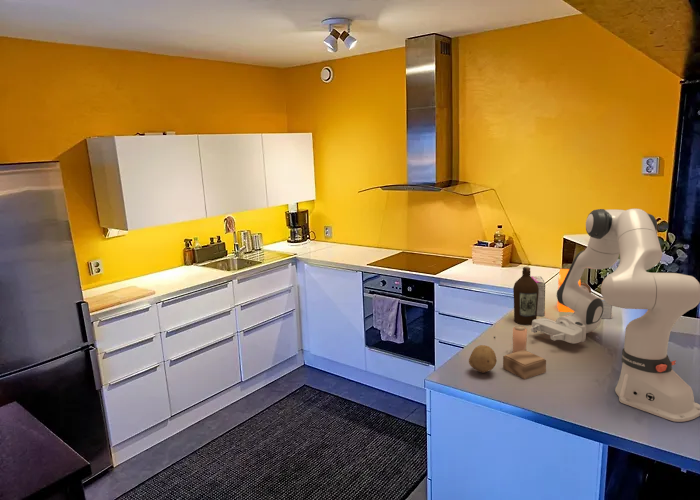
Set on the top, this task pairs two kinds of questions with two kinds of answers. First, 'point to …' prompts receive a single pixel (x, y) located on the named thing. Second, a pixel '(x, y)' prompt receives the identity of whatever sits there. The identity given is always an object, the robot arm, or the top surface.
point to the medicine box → (606, 310)
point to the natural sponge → (482, 358)
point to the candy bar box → (540, 295)
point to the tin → (585, 287)
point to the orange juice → (560, 280)
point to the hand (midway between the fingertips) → (542, 334)
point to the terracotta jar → (519, 338)
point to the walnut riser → (524, 364)
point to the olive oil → (525, 298)
